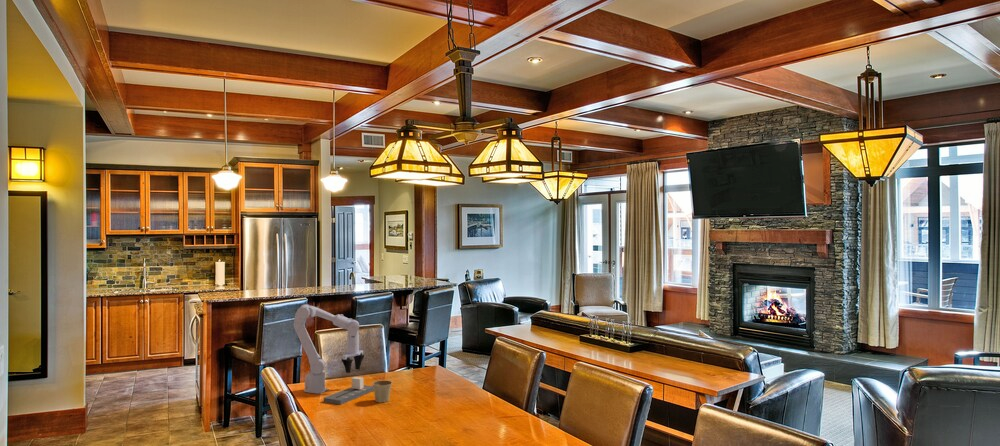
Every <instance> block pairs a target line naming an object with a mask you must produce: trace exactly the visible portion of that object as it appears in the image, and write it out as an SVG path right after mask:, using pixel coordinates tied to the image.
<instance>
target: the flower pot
mask: <svg viewBox="0 0 1000 446" xmlns="http://www.w3.org/2000/svg"><path fill="white" fill-rule="evenodd" d="M371 384H372V386H373V387H374V391H373V392H374V401H375V402H376V403H380V404H381V403H387V402H389V401H390V394H391V388H392V385H393V381H391V380H387V379H386V380H385V379H384V380H381V379H380V380H376V381H373V382H372V383H371Z"/></svg>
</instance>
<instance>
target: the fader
mask: <svg viewBox="0 0 1000 446" xmlns="http://www.w3.org/2000/svg"><path fill="white" fill-rule="evenodd" d="M364 379H365V378H364V377H362V376H361V377H360V376H354V377H351V387H352V388H353V389H362V388H364V385H365V384H364V381H365V380H364Z"/></svg>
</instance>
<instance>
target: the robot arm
mask: <svg viewBox="0 0 1000 446" xmlns="http://www.w3.org/2000/svg"><path fill="white" fill-rule="evenodd" d="M309 317H310V318H314V317H319V318H322V319H325V320H327V321H330V322H332V325H333V326H336V327H338V328H341V329H343V330H347V341H346V342H347V345H346V346H347V349H346V351H347V352H346V353H345V354H343V355H342V357H341V362H342V364H343V365H344V368H345V369H344V370H345V373H346V374H350V373H351V371H352V364H353V363H352V362H353V361H354V368H355V370H361V365H362V362H363V359H364V358H365V355H364V350H362V349H360V334H359V333H360V331H359V330H360V323H359V321H357V320H356V319H353V318H351V317H350V318H348V317H346V316H344V314H342V313H341V314H339V313H338V314H336V315H334V314H332V313H331V312H328V311H326V310H324V309H322V308H319V307H317V306H313V305H310V304H307V303H304V304H301V305H300V306H299V308H297V310H296V312H295V314H294V320H293V326H292V327H293V329H294V331H295V333H296V334H297V337H298V339H299V342H300V344H301V346H302V348H303V350H304V352H305V354H306V356H307V358H308V363H309V365H310V367H309V368H310V369H309V370H310V372H308V373H307V374H306V375H305V378H304V390H303V392H304V393H309V394H310V393H312V394H316V395H318V394H322V393H325V392H326V391H329V390H330V389H329V388H326V371H325V370H324V368H325V366H326V362H325V360H324V359H323V358H322V357H321V356H320V354H319V353H318V352H317V349H316V347H315V345H314V343H313V341H312V339H311V337H310V334H309V332H308V330H307V328H306V326H305V324H306V322H307V319H308V318H309ZM351 358H353V359H351Z"/></svg>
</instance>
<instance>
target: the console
mask: <svg viewBox="0 0 1000 446" xmlns="http://www.w3.org/2000/svg"><path fill="white" fill-rule="evenodd" d="M371 392H374V387H373V385H365V384H364V388H362V389H353V388H352V386H350V387H347V388H345V389H343V390H340V391H338V392H335V393H333V394H330V395H327V396H325V397H323V403H327V404H333V405H339V406H341V405H344V404H346V403H348V401H349V402H350V401H353V400H355V399H357V398H360V397H362V395H363V396H364V395H367V394H369V393H371Z"/></svg>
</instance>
